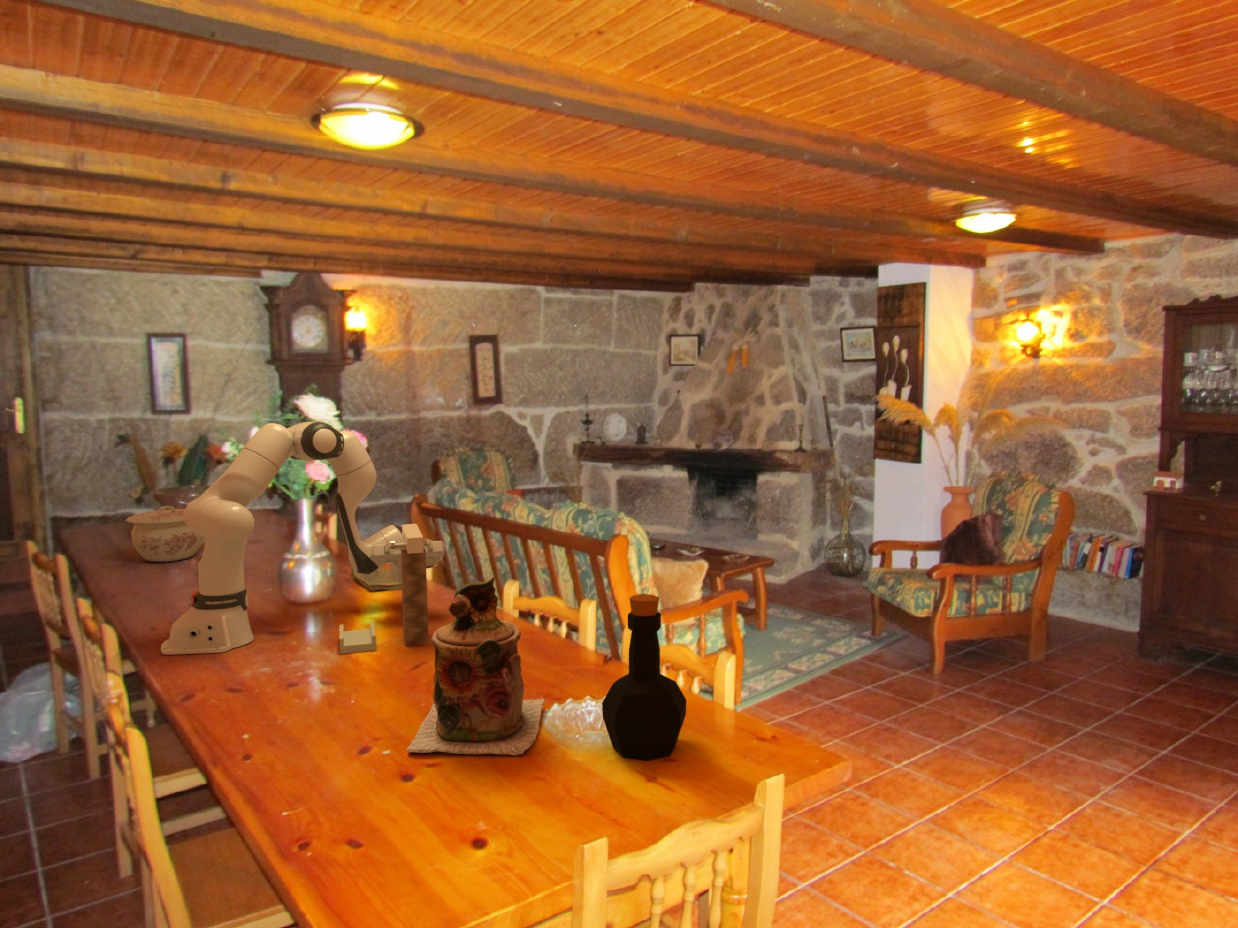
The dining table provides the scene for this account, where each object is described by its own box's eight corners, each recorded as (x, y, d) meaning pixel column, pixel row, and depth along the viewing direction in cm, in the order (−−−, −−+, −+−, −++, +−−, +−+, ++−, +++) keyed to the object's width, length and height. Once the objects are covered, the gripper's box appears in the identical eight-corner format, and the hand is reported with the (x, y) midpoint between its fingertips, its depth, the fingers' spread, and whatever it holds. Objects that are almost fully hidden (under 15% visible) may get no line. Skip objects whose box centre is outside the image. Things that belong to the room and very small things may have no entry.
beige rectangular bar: (407, 553, 222) (407, 538, 221) (402, 538, 241) (401, 524, 240) (423, 552, 223) (423, 537, 223) (416, 537, 242) (416, 523, 242)
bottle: (600, 731, 176) (599, 587, 172) (680, 728, 177) (681, 585, 174) (604, 767, 160) (603, 609, 157) (692, 764, 161) (693, 607, 158)
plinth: (405, 646, 229) (402, 549, 226) (403, 638, 236) (400, 544, 233) (428, 643, 231) (425, 548, 228) (426, 636, 238) (423, 543, 235)
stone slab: (381, 563, 313) (404, 577, 287) (381, 574, 314) (404, 589, 288) (346, 566, 307) (366, 581, 281) (346, 578, 308) (367, 594, 282)
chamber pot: (111, 565, 323) (107, 511, 321) (161, 549, 350) (158, 499, 347) (179, 568, 318) (175, 512, 316) (225, 552, 345) (222, 500, 343)
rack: (340, 653, 223) (339, 638, 223) (340, 638, 236) (339, 624, 235) (376, 650, 226) (375, 635, 226) (374, 635, 238) (373, 621, 238)
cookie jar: (434, 706, 189) (430, 563, 186) (546, 707, 189) (544, 563, 185) (403, 757, 165) (397, 593, 161) (532, 758, 164) (529, 594, 160)
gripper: (369, 550, 252) (370, 534, 240) (440, 545, 258) (444, 530, 246) (370, 571, 250) (371, 556, 238) (442, 566, 256) (446, 551, 244)
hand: (409, 542), depth 242 cm, fingers open, 8 cm apart
